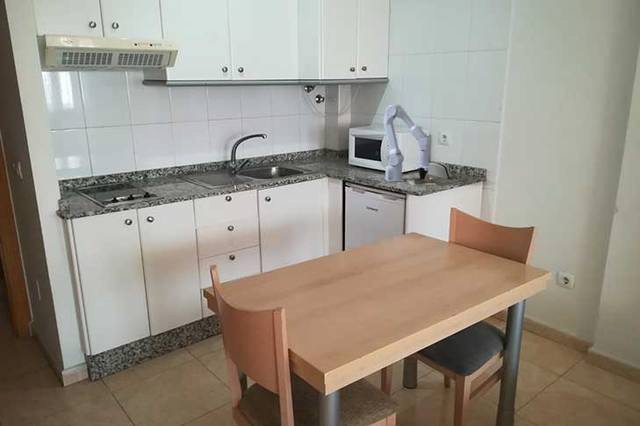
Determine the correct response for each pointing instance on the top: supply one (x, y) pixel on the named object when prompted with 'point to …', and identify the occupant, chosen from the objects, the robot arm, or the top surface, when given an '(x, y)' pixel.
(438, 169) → the grey piece
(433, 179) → the link
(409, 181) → the base board
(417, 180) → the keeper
